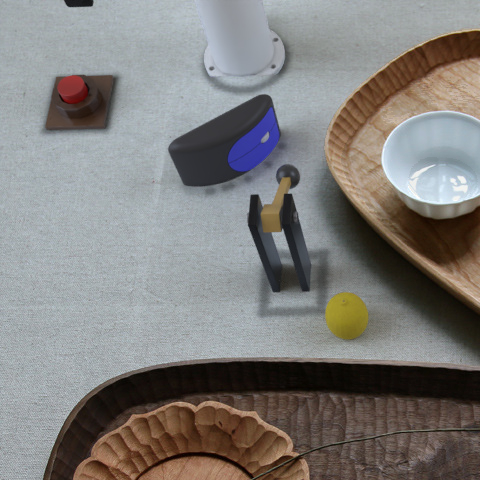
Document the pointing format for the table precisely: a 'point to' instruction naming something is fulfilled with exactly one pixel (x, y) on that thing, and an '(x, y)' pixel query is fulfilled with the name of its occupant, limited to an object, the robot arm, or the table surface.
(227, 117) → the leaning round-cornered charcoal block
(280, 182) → the switch lever
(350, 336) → the lemon
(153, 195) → the table surface
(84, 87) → the button
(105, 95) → the button base
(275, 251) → the bracket
